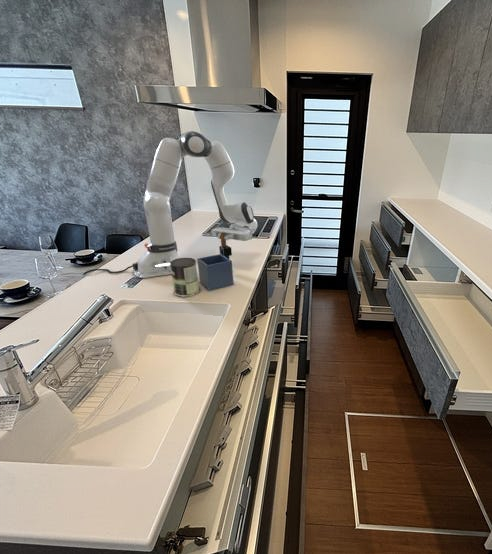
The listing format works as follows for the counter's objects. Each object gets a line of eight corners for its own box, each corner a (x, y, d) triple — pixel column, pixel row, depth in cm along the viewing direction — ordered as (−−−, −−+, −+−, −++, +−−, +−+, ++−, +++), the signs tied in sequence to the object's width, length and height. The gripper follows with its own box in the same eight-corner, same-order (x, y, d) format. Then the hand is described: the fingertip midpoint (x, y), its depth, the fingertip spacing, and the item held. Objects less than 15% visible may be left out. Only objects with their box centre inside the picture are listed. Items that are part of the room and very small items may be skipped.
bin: (209, 290, 134) (206, 266, 130) (199, 282, 143) (197, 258, 138) (233, 284, 141) (231, 260, 137) (223, 276, 149) (220, 253, 145)
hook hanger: (219, 264, 154) (217, 232, 148) (227, 263, 157) (224, 230, 150) (225, 268, 150) (222, 234, 143) (232, 266, 152) (230, 233, 146)
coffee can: (174, 298, 127) (169, 267, 121) (174, 288, 136) (170, 258, 130) (200, 295, 130) (196, 264, 125) (199, 285, 139) (195, 256, 134)
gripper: (220, 223, 162) (203, 228, 150) (254, 227, 155) (239, 234, 143) (221, 234, 164) (205, 241, 152) (254, 239, 158) (240, 246, 146)
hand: (222, 237), depth 148 cm, fingers closed on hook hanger, 2 cm apart
